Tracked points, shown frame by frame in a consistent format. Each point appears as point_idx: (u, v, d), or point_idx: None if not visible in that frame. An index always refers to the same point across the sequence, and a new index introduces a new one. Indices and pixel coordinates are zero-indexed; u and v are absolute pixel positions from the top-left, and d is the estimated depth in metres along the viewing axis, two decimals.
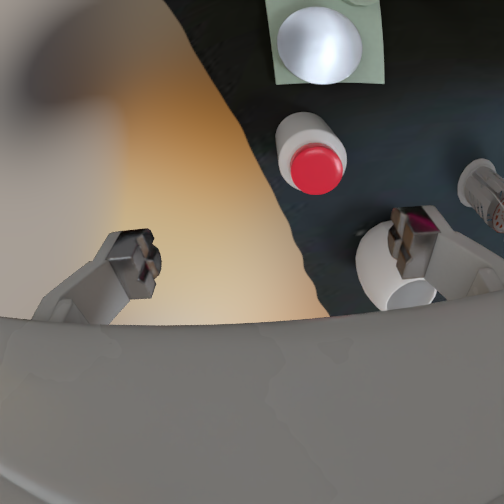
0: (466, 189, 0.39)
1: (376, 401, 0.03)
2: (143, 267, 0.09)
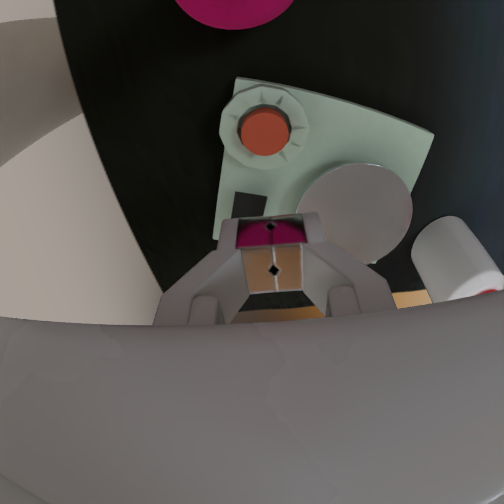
0: None
1: (376, 401, 0.03)
2: None
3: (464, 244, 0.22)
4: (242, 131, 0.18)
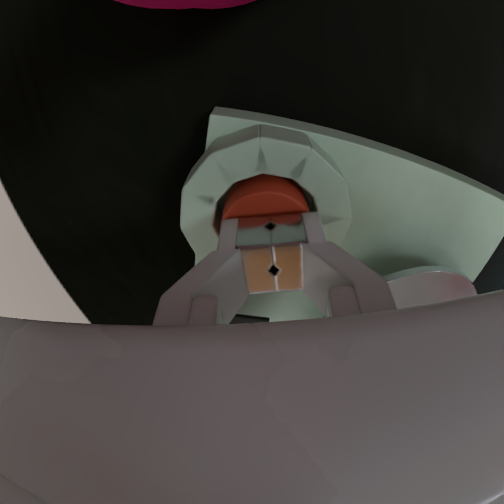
0: None
1: (376, 401, 0.03)
2: None
3: None
4: None
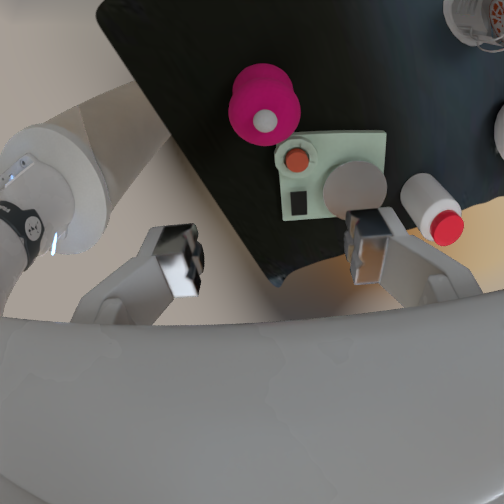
0: (475, 40, 0.25)
1: (376, 401, 0.03)
2: (190, 264, 0.09)
3: (426, 188, 0.39)
4: (287, 163, 0.38)
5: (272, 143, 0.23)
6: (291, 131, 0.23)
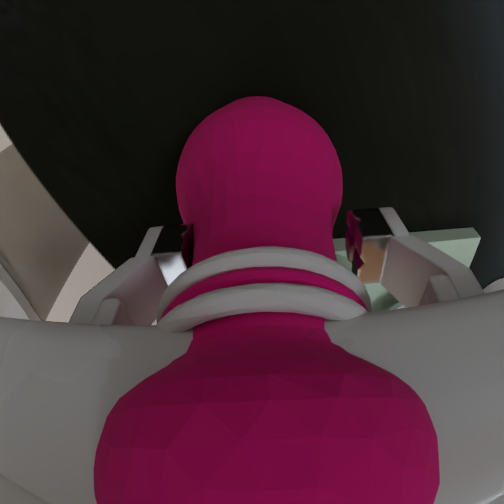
0: None
1: None
2: (189, 264, 0.09)
3: None
4: None
5: None
6: None
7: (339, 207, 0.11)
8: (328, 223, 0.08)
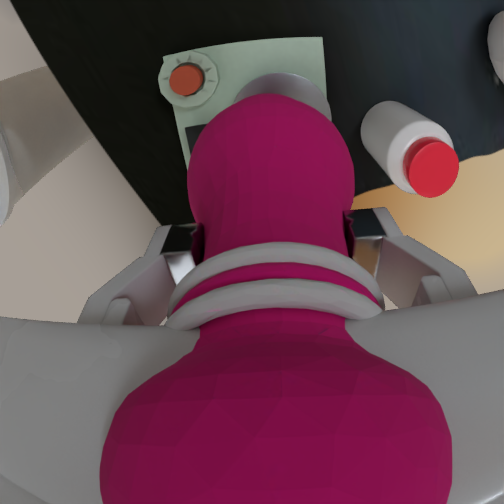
0: None
1: None
2: (198, 263, 0.09)
3: (393, 113, 0.25)
4: (170, 84, 0.24)
5: None
6: None
7: (351, 204, 0.11)
8: (341, 220, 0.08)
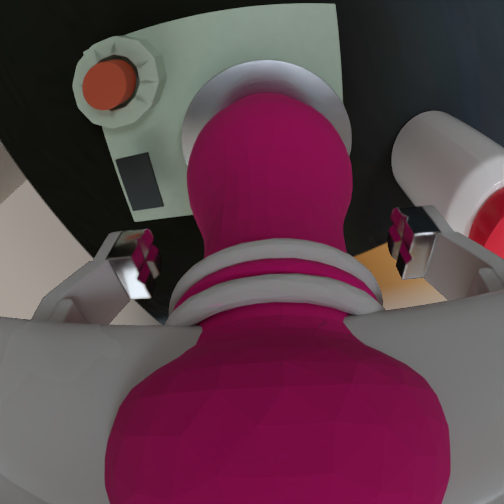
0: None
1: None
2: (143, 267, 0.09)
3: (451, 134, 0.14)
4: (83, 94, 0.13)
5: None
6: None
7: (349, 202, 0.11)
8: (339, 217, 0.08)
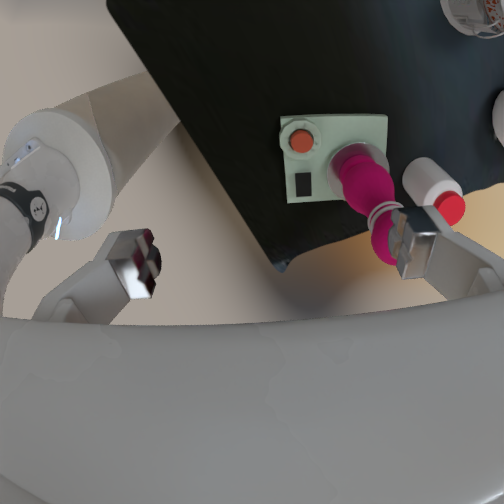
0: (472, 30, 0.25)
1: (376, 401, 0.03)
2: (143, 267, 0.09)
3: (427, 170, 0.39)
4: (292, 144, 0.38)
5: None
6: None
7: None
8: (394, 199, 0.33)
